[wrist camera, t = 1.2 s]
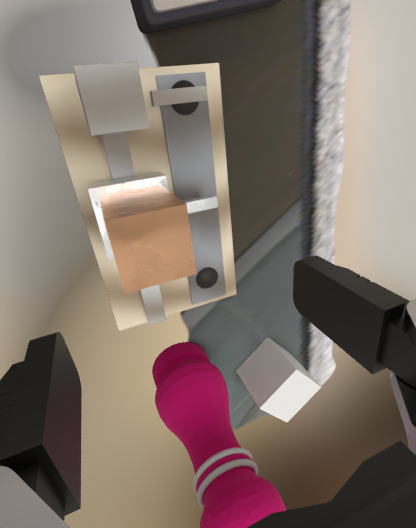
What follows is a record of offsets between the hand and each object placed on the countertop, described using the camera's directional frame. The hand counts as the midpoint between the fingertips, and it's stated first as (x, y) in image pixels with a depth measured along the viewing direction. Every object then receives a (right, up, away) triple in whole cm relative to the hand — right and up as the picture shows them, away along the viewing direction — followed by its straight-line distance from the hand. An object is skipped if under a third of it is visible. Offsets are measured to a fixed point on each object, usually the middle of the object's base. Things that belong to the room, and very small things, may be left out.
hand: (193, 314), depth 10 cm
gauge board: (-4, +6, +16) cm, 17 cm away
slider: (-4, +6, +13) cm, 14 cm away
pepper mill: (-3, -10, +24) cm, 26 cm away
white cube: (+8, -11, +29) cm, 32 cm away
